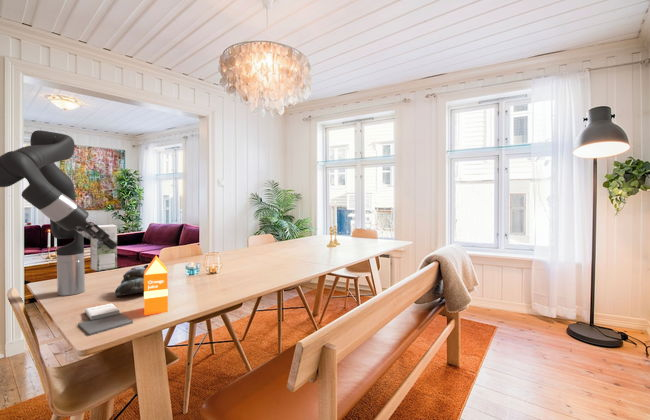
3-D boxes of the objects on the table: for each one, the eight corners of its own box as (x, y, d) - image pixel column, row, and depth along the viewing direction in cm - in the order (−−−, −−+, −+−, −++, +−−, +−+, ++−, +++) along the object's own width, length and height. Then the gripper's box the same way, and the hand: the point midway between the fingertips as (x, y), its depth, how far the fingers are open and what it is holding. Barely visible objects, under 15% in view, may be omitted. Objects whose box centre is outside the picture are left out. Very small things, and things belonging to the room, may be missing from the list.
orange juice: (143, 315, 109) (143, 260, 108) (144, 307, 117) (144, 255, 116) (168, 311, 113) (167, 258, 112) (167, 304, 121) (167, 254, 120)
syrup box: (110, 265, 104) (109, 223, 104) (117, 268, 101) (117, 224, 100) (90, 268, 100) (89, 224, 99) (97, 271, 96) (96, 226, 96)
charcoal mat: (77, 325, 100) (77, 323, 100) (119, 314, 110) (119, 312, 110) (89, 335, 93) (89, 333, 93) (133, 322, 102) (133, 321, 102)
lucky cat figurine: (106, 298, 126) (110, 265, 132) (131, 301, 137) (134, 270, 143) (135, 290, 123) (138, 257, 129) (158, 293, 134) (160, 263, 140)
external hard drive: (90, 321, 102) (85, 312, 111) (119, 314, 108) (112, 307, 117) (90, 316, 102) (85, 308, 111) (119, 309, 108) (112, 302, 117)
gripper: (84, 203, 89) (129, 239, 100) (66, 202, 97) (109, 235, 108) (62, 222, 85) (110, 257, 96) (44, 219, 93) (91, 252, 103)
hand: (109, 246), depth 102 cm, fingers closed on syrup box, 6 cm apart
